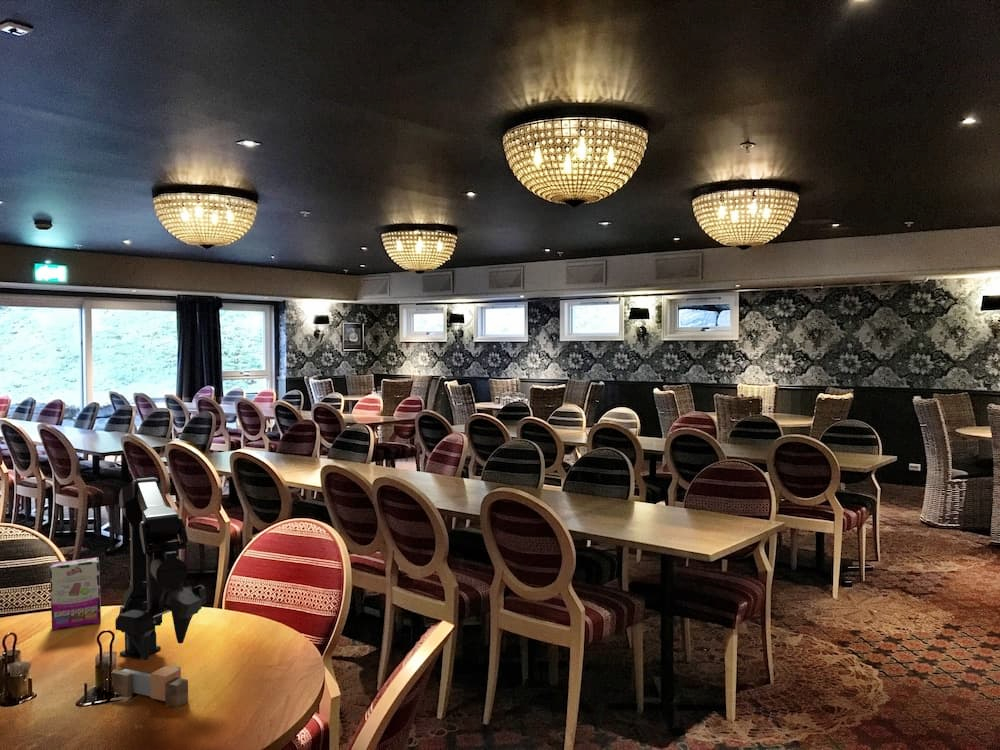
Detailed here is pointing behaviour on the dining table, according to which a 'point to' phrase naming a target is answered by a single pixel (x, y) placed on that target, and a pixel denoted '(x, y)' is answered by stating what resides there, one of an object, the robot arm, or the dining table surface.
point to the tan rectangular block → (162, 681)
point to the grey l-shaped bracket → (141, 682)
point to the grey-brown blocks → (173, 689)
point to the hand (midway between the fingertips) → (163, 651)
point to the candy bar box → (75, 593)
